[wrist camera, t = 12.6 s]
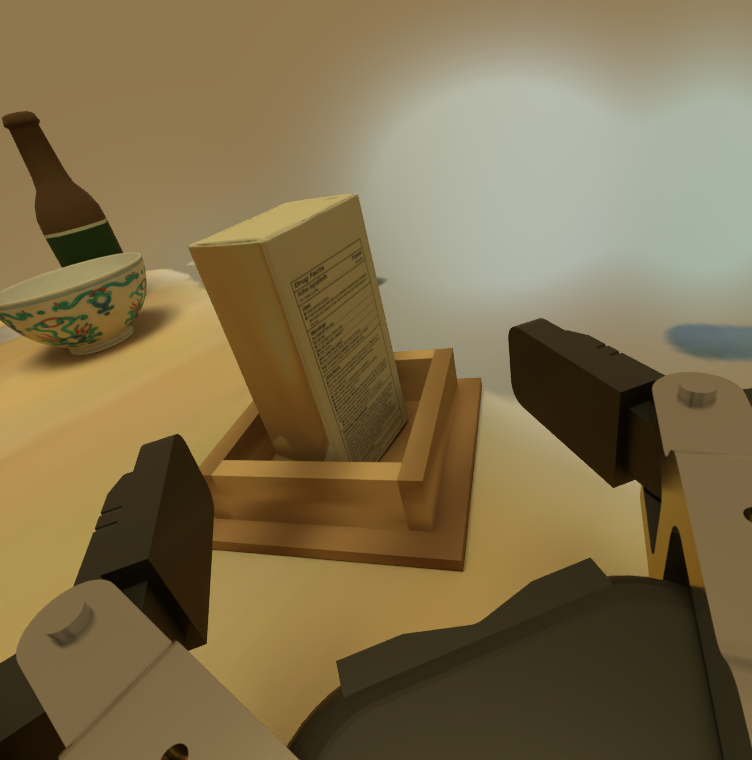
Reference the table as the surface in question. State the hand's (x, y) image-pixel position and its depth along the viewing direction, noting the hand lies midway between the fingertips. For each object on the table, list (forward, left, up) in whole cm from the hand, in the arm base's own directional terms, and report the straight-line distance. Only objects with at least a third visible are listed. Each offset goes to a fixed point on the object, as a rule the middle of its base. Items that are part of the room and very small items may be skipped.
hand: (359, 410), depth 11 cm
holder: (-5, +9, -9) cm, 14 cm away
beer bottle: (-51, +41, -10) cm, 67 cm away
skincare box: (-5, +9, -9) cm, 14 cm away
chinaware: (-41, +28, -10) cm, 51 cm away
